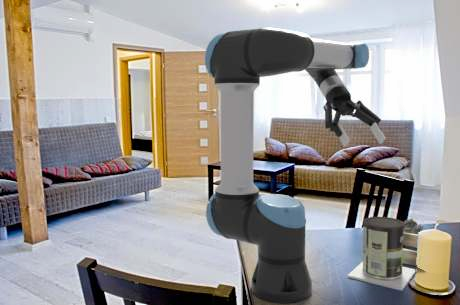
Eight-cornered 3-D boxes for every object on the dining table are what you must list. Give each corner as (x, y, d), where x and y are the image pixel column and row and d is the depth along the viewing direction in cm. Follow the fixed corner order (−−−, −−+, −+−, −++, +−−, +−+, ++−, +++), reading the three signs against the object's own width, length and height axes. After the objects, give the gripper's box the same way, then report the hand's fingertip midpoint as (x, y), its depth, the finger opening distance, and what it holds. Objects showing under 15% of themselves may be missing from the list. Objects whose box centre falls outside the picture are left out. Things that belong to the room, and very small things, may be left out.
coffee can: (398, 266, 119) (400, 217, 117) (405, 281, 109) (407, 228, 107) (360, 263, 121) (361, 215, 120) (363, 279, 111) (365, 226, 110)
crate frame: (363, 254, 130) (364, 242, 129) (380, 239, 142) (380, 228, 142) (420, 266, 120) (420, 253, 120) (432, 249, 133) (433, 237, 132)
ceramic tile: (347, 277, 114) (347, 275, 114) (365, 260, 125) (365, 258, 125) (402, 290, 106) (402, 288, 106) (416, 271, 117) (416, 269, 117)
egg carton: (412, 229, 154) (413, 218, 153) (426, 235, 147) (427, 224, 146) (386, 231, 152) (386, 220, 151) (398, 238, 144) (399, 226, 144)
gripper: (360, 100, 149) (390, 147, 138) (298, 101, 140) (326, 152, 128) (370, 84, 144) (403, 132, 132) (308, 85, 134) (337, 136, 122)
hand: (365, 142), depth 130 cm, fingers open, 13 cm apart
